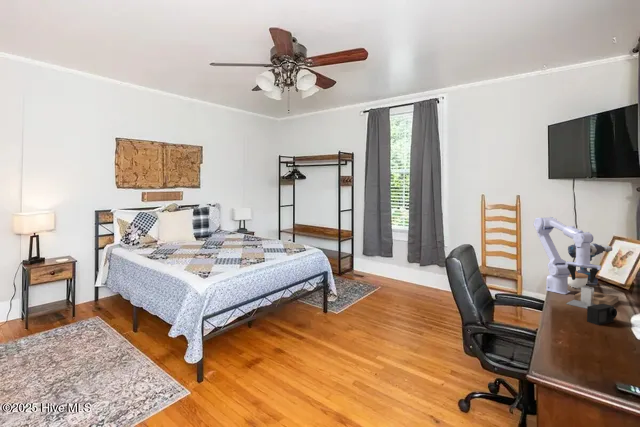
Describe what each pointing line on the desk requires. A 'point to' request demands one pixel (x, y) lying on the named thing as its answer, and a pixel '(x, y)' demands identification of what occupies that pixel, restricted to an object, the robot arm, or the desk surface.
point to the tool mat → (576, 303)
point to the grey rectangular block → (587, 296)
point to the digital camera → (601, 314)
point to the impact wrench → (594, 251)
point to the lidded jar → (578, 280)
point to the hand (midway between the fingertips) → (582, 281)
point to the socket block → (601, 298)
